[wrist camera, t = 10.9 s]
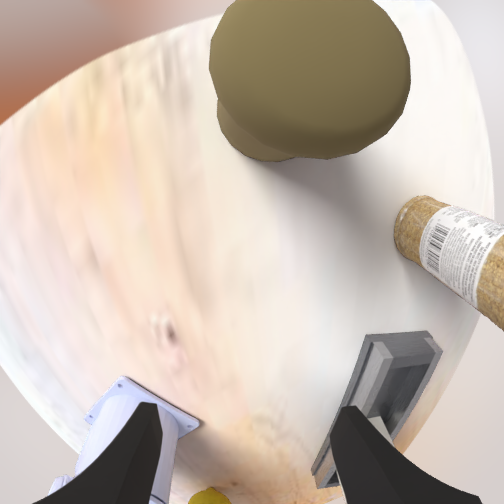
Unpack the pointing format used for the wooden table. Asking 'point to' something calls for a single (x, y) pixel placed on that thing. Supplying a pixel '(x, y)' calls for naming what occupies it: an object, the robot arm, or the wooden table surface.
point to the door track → (383, 387)
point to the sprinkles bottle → (456, 251)
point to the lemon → (209, 497)
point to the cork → (307, 77)
